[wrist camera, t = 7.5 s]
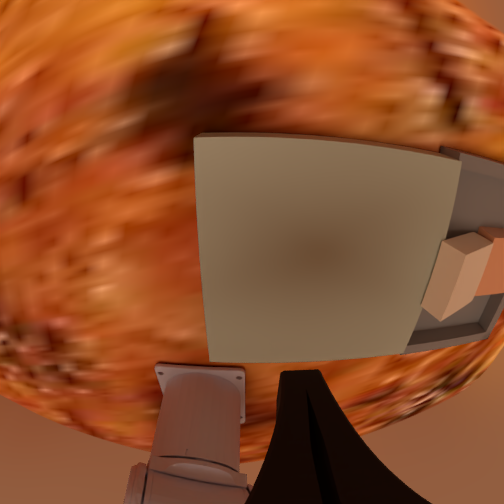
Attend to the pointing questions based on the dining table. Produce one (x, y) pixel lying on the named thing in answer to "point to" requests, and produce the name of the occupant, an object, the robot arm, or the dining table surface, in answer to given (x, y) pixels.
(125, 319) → the dining table surface
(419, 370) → the dining table surface
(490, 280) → the terracotta tile
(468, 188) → the box
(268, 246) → the beige square slab
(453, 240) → the cream tile
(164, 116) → the dining table surface
